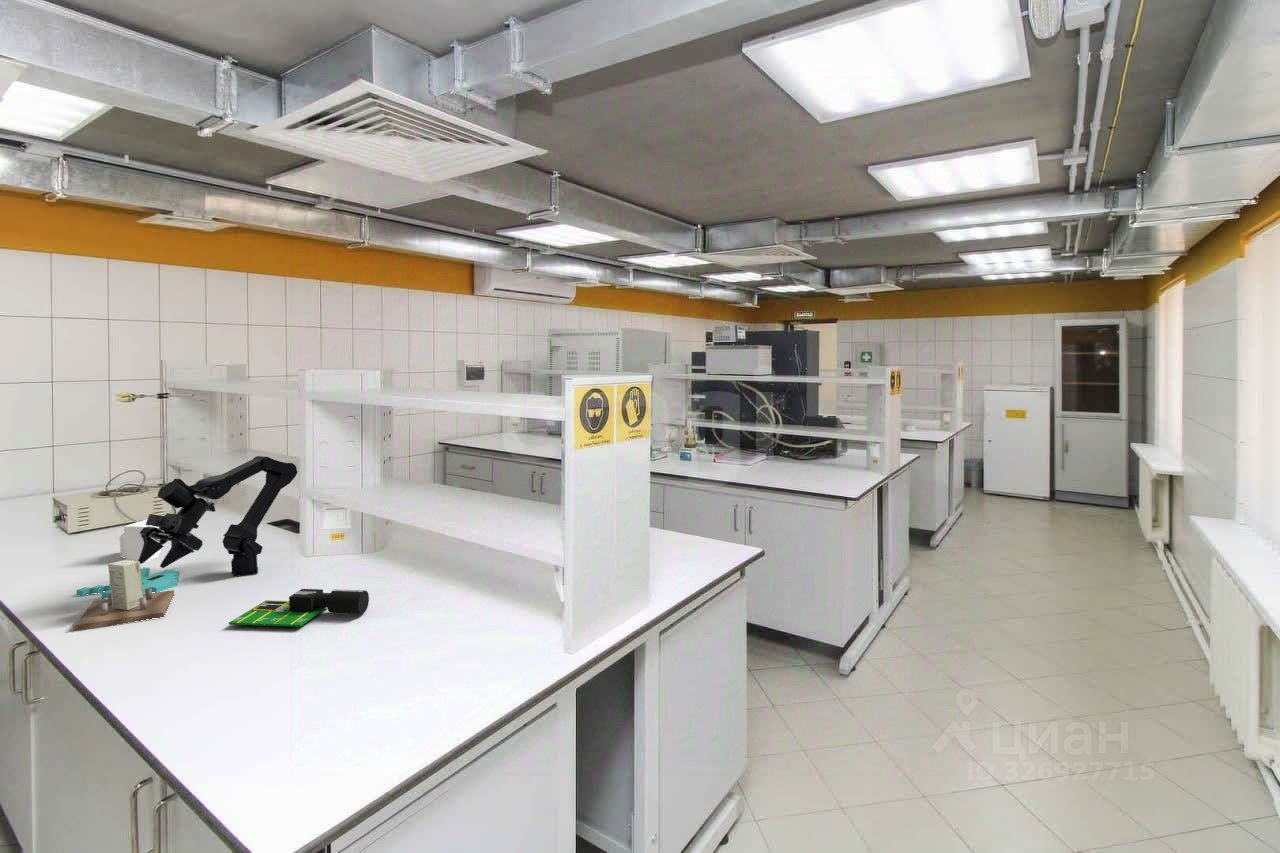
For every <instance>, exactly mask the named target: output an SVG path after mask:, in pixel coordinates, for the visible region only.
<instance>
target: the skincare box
mask: <svg viewBox="0 0 1280 853" xmlns="http://www.w3.org/2000/svg"><path fill="white" fill-rule="evenodd" d="M107 567H108V576H109V577H108V578H109V584H110V588H111V598H112V607H113V608H117V609H123V610H129V609H132V608H135V607H138V606H140V601H139V599H140V598H142V597H143V591H142V580H141V570H140V568H141V564H140V561H132V560H126V559H122V560H118V561H114V562H109V563H108V564H107Z"/></svg>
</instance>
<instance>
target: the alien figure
mask: <svg viewBox="0 0 1280 853" xmlns="http://www.w3.org/2000/svg"><path fill="white" fill-rule="evenodd" d="M140 570H141V580H142V591H143V594H146V592H145V589H146V588H152V592H155V593H157V592H160V591H162V592H164V591H163V590H165V589H167V590H169V589H168V588H170V589H172V588H175V587H178V586H177V585H178V583H179V578H180V570H175V569H174V570H173V569H165V570H162V571H159V572H156V573H153V574H151V569H150V567H145V566H144V567H140ZM149 573H150V574H149ZM177 582H178V583H177ZM174 586H175V587H174ZM171 587H172V588H171ZM103 591H105V592H103ZM165 591H166V590H165ZM75 592H76V596H77V595H80V596H79V597H85V596H84V595H86V596H88V595H87V594H89V595H91V594H90V593H97V594H96V595H99V594H98V593H100V594H101V598H108V593H111V588H110V583H109V584H107V585H103V584H102V585H101V584H98V585H96V586H93V587H87V586H84V587H80V588H78V589H76V591H75ZM101 592H102V593H101Z"/></svg>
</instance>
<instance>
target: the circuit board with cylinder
mask: <svg viewBox="0 0 1280 853" xmlns="http://www.w3.org/2000/svg"><path fill="white" fill-rule="evenodd" d="M369 603H370V595H369V593H368V590H360V589H358V590H357V589H355V590H354V589H333V590H331V591H330V592H324V589H322V588H301V589H300V590H297V591H296V592H295V593H293V594H291V595H290V596H288V600H270V599H269V600H264V601H262V602H260V603H259V604H257V605H256V606H254V607H253V608H251V609H249V610H247V611H246V612H244V613H243V614H241V615H239V616H237V617H236V618H234V619H232V620H230V621H229V622H228V625H230V626H231V625H234V626H235V625H237V626H266V627H267V626H269V627H271V626H273V627H302V626H304V625H305V624H307V622H309V621H310V620H312V619H313V618H315V617H316V616H317V615H319V614H320V613H322V611H324V610H325V609H327V610H328V612H329V614H353V615H354V614H355V615H356V614H357V615H358V614H361V615H362V614H364V613H366V611H367V609H368V607H369Z"/></svg>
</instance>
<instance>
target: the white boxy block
mask: <svg viewBox="0 0 1280 853" xmlns="http://www.w3.org/2000/svg"><path fill="white" fill-rule="evenodd" d="M147 520H148V518H147V519H144V520H143V519H142V520H140V521H136V522H133V523H131V524H128V525H124V526H123V533H122V534H121V535H120V536H119V537H118V538H119V548H120V558H121V557H126V558H125V560H133V561H138V560H139V557H140V554H141V552H142V549H143V545H144V541H143V538H142V537H141V534H140V532H141V530H142V529H143V528H144V527H148V526H150V527H156V526H152V525H146V522H147ZM156 528H159V527H156ZM161 549H162V548H161ZM161 549H160V550H159V551H157V552H156V553H155V554H154V555H153V556H151V557H150V558H149V559H148V560H149V561H151V560H150V559H152V560H154V559H156V557H157V558H159V557H158V556H159V554H160V553H161V552H162V550H161ZM153 558H154V559H153ZM148 560H146V561H147V562H149V561H148Z"/></svg>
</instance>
